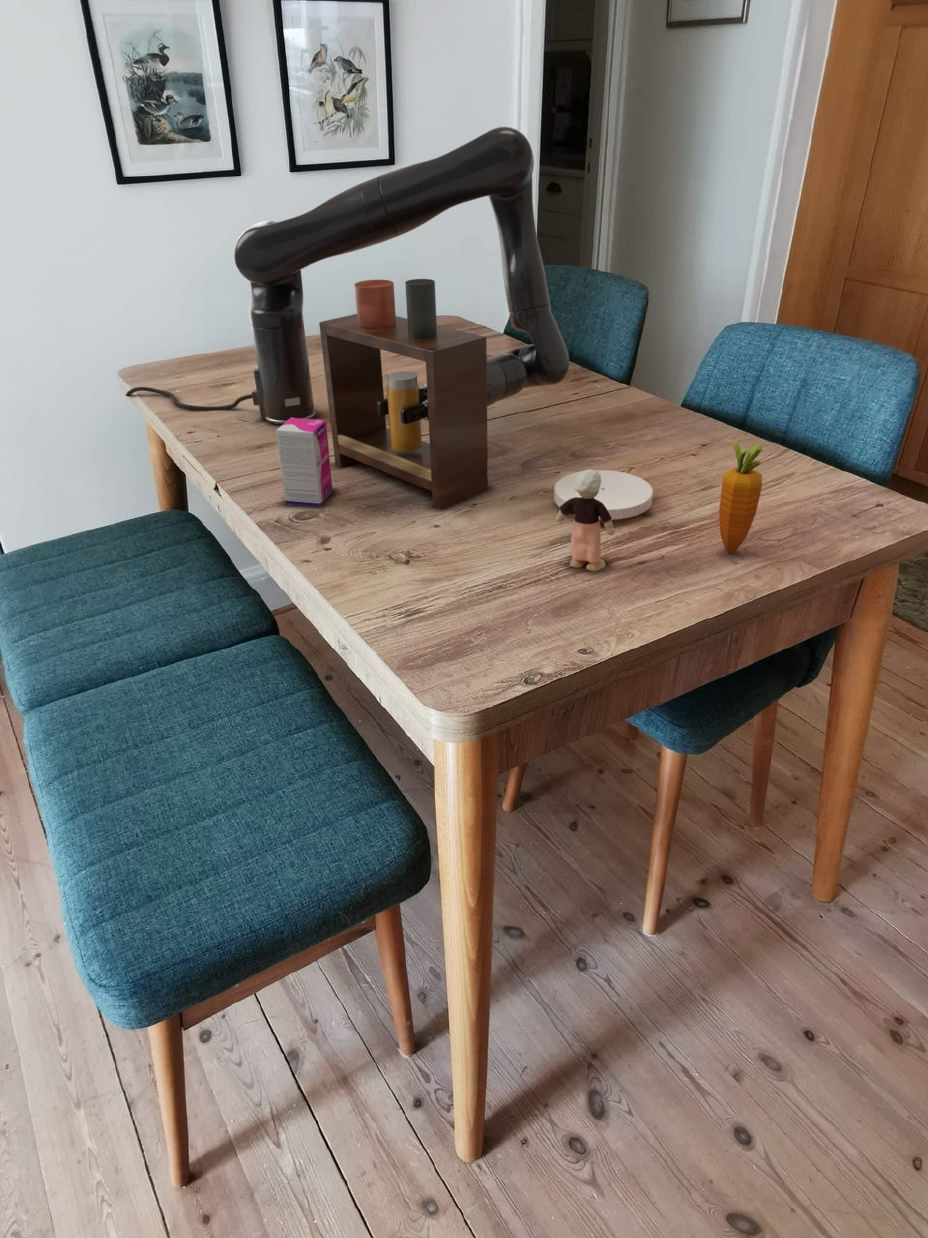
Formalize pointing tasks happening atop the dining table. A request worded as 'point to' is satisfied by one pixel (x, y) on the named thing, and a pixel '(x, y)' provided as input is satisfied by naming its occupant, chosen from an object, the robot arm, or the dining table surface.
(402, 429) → the shaker
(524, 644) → the dining table surface
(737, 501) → the carrot
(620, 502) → the plastic lid
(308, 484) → the supplement box
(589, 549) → the grandmother figurine
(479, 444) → the spice rack
